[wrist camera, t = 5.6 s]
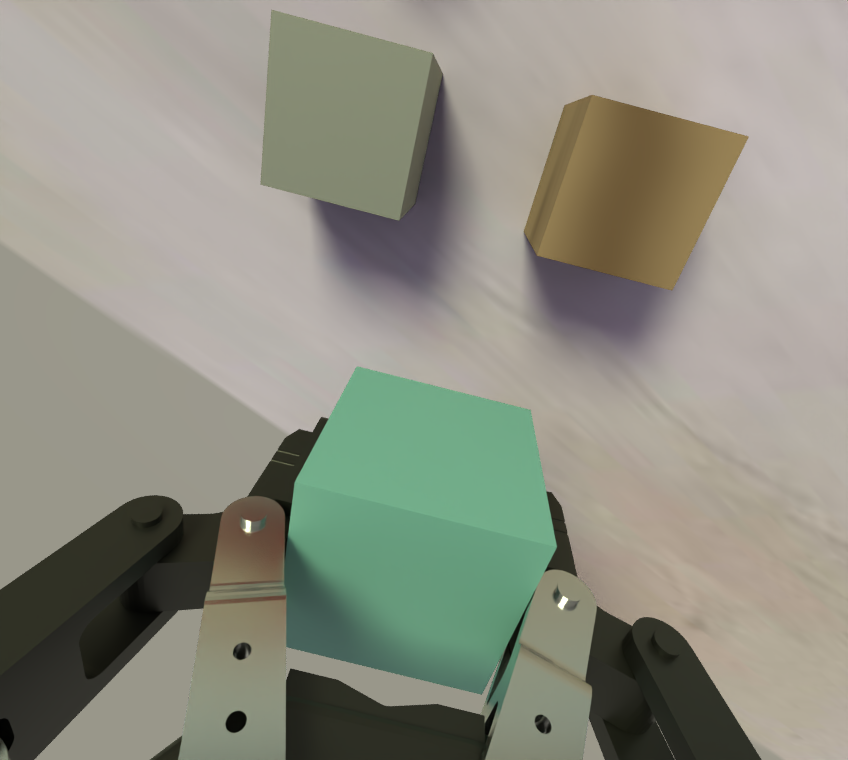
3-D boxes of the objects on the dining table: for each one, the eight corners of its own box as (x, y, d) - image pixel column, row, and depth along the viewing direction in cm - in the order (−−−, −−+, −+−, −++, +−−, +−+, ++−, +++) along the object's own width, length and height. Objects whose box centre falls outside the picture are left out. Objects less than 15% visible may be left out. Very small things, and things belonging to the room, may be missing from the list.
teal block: (530, 410, 13) (557, 547, 9) (480, 535, 15) (481, 694, 11) (356, 366, 13) (294, 482, 9) (333, 499, 15) (274, 644, 11)
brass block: (684, 137, 19) (748, 136, 14) (630, 259, 21) (672, 290, 17) (564, 105, 19) (592, 94, 14) (523, 231, 21) (536, 255, 17)
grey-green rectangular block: (442, 73, 19) (432, 53, 14) (415, 203, 21) (399, 220, 17) (320, 40, 19) (271, 9, 14) (306, 174, 21) (260, 184, 16)
